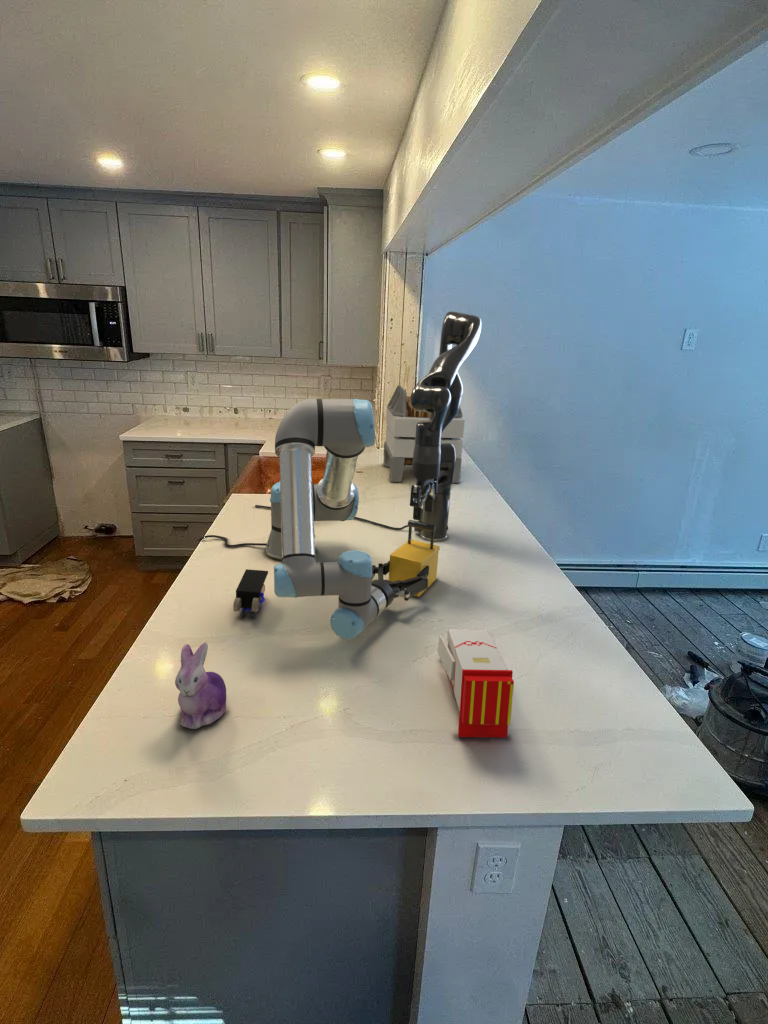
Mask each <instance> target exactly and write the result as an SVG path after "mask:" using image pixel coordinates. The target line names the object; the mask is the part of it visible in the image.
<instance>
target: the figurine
mask: <svg viewBox="0 0 768 1024" xmlns="http://www.w3.org/2000/svg"><path fill="white" fill-rule="evenodd" d="M208 648H209V645H208V643H207V642H203V643H201V644H200V646H199V647H198V648H197V650H196V651H195V652H193V649H192V647H191V646H190V644H188V643H186V644H184V645H183V646H182V648H181V651H180V668H179V670H178V672H177V675H176V676H175V679H174V685H175V687H176V689H177V690H178V691H179V694H178V696H177V702H178V706H179V708H180V711H181V718H180V726H182V727H183V728H188V729H191V730H197V729H199V728H201V727H203V726H208V725H211V724H213V723H215V722H216V721H217V720H218V719H220V718H221V717H222V716H223V715H224V714H225V712H226V707H227V687H226V682H225V681H224V678H223V677H222V676H221V675H220V674H219V673H217V672H215V671H206V670H205V667H204V664H205V661H206V657H207V653H208Z"/></svg>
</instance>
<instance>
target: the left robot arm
mask: <svg viewBox="0 0 768 1024" xmlns="http://www.w3.org/2000/svg"><path fill="white" fill-rule="evenodd" d="M375 432H376V430H375V416H374V409H373V405H372V403H371V401H369V400H368V399H360V398H359V399H358V398H314V397H313V398H306V399H302V400H300V401H299V402H297V403H296V404H294V405H293V406H292V407H290V409H289V410H288V411H287V412H286V413H285V415H284V416H283V417H282V419H281V421H280V422H279V425H278V428H277V430H276V433H275V438H274V454H275V456H276V457H278V458H279V481H277V482H276V483H274V484H273V485H272V487H271V488H270V498H269V502H270V507H271V509H270V524H271V525H270V526H271V527H270V528H271V529H270V533H269V536H268V538H267V539H268V540H267V542H265V543H264V542H263V543H262V542H260V543H259V542H244V543H235V544H229V538H227V537H225V536H223V535H217V534H216V535H215V534H207V535H203V536H201V537H200V538H199V539H197V542H201V541H202V540H204V539H208V538H215V539H221V540H224V545H225V546H226V547H229V548H237V547H242V546H243V547H245V546H258V547H259V546H264V547H265V553H266V555H267V556H268V557H269V558H271V559H274V560H276V561H281V563H277V564H275V565H273V589H274V590H273V592H274V594H275V596H276V597H278V598H295V599H298V598H306V597H323V596H324V597H326V596H338V607H337V608H336V609H335V610H334V611H333V613H332V614H331V616H330V618H329V625H330V627H331V629H332V631H333V633H334V634H335V635H336V636H338V637H339V638H340V639H343V640H351V639H354V638H356V637H357V636H359V634H362V633H363V632H364V630H366V628H368V626H369V625H370V624H371V623H373V622H374V620H375V619H376V618H377V617H379V616H380V615H381V614H382V613H383V612H384V611H385V610H386V609H387V608H388V607H389V606H390V605H391V604H392V603H393V602H394V599H397V598H399V597H402V598H403V600H404V601H409V600H410V599H411V598H412V597H415V596H414V595H416V594H418V593H419V592H421V591H423V590H425V589H426V590H427V589H428V588H429V587H428V579H427V576H428V575H429V566H426V567H425V568H424V569H423V570H422V571H420V572H419V573H418V574H417V577H414V578H411V579H407V580H404V581H400V580H398V581H394V582H392V581H389V579H384V576H387V575H388V574H389V565H390V560H388V561H387V562H384V563H381V562H379V563H378V566H377V565H375V564H373V559H372V557H371V555H370V554H369V553H367V552H365V551H364V550H363V551H362V550H357V549H352V550H351V549H349V551H344V552H342V553H341V554H340V555H339V559H338V561H326V562H325V561H324V562H317V561H316V542H315V541H316V535H315V522H336V521H337V522H339V521H340V522H345V521H352V520H354V517H357V514H358V510H359V505H360V504H359V503H360V493H359V488H358V486H357V485H356V484H354V483H353V480H354V475H355V471H356V467H357V461H358V457H359V456H360V455H361V454H362V453H363V452H364V451H365V449H366V448H370V447H373V446H374V445H375V444H376V443H375V442H376V433H375ZM316 447H324V449H325V450H326V452H325V453H326V454H325V461H324V469H323V477H322V479H320V480H319V482H318V483H314V484H313V469H312V468H313V467H312V457H313V456H314V455H315V454H316ZM204 537H205V538H204ZM376 574H377V579H374V578H375V576H376ZM426 590H425V591H426Z"/></svg>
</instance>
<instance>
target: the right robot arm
mask: <svg viewBox="0 0 768 1024" xmlns="http://www.w3.org/2000/svg"><path fill="white" fill-rule="evenodd" d="M481 332H482V319H481V318H480V317H479V316H477V315H474V314H470V313H465V312H458V311H453V310H450V311H449V310H448V312H446V313H445V315H444V317H443V321H442V325H441V333H440V342H439V345H440V346H439V354H438V357H436V358H435V360H434V362H433V363H432V365H431V368H430V370H429V371H428V373H427V374H426V375H425V376H424V377H423V378H422V379H420V380H419V381H418V383H416V384H415V386H414V387H413V389H412V391H411V393H410V396H411V397H410V403H411V406H412V407H413V409H414V410H416V411H420V412H429V413H430V417H429V420H426V421H420V422H418V423H417V425H416V432H415V446H414V451H413V466H411V467H412V468H411V469H412V470H411V475H412V477H414V478H416V483H415V484H411V486H410V497H409V506H410V507H412V508H413V510H412V520H413V521H418V522H423V523H427V524H432V525H436V530H435V532H434V542H440V541H444V540H446V539H447V538H448V531H449V517H450V516H449V514H450V504H451V494H452V493H451V491H452V485H453V483H452V482H453V475H454V468H455V461H456V452H455V448H454V446H453V445H452V444H450V443H441V434H442V432H443V431H444V429H445V428H446V427H447V426H448V424H449V423H450V422H451V421H452V420H453V418H454V417H455V416H456V414H457V413H458V411H459V409H460V408H461V404H462V401H463V400H462V399H463V393H464V386H463V382H462V379H461V377H460V374H459V369H460V368H461V367H462V365H463V363H465V361H466V359H467V358H468V357H469V355H470V354H471V352H472V351H473V350H474V348H475V347H476V345H477V344H478V341H479V339H480V335H481ZM255 508H263V509H269V510H271V506H269V505H262V504H261V505H259V504H255ZM354 519H355V520H359V521H363V522H366V523H371V524H373V525H376V526H380V527H384V528H387V529H390V530H395V531H402V530H404V529H406V528H409V526H408V524H406V525H403V526H401V527H395V526H389V525H387V524H383V523H379V522H375V521H372V520H369V519H366V518H362V517H359V516H358V517H357V516H355V517H354V518H353V520H354ZM413 531H414V532H417V535H418V536H420V538H421V539H424V540H426V541H431V531H428V530H424V529H419V528H415V527H413Z"/></svg>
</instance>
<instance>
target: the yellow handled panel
mask: <svg viewBox="0 0 768 1024" xmlns="http://www.w3.org/2000/svg"><path fill="white" fill-rule="evenodd" d="M407 525H408V526H409V527H408V534H407V535H408V536H407V541H406V542H405V543H403V544H402V545H401V546H399V547H398V548H397V549H395V550H394V551H393V552H391V553H390V554H389V560H390V559H392V560H396V561H400V562H404V563H408V564H412V565H416V566H420V567H421V566H423V565H424V564H425V563H426V562H427V561H428V560H429V559H430V558H431V557H432V556H433V555H435V554H436V553H437V552H438V551H439V552H440V545H437V544H434V542H435V541H434V532H435V530H436V525H432V524H427V523H423V522H418V520H414V519H409V520H408V521H407ZM414 527H415V528H419V529H424V530H428V531H431V540H430V543H428V542H425V541H420V540H414V539H412V533H413V532H412V530H413V528H414ZM439 552H438V553H439Z"/></svg>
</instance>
